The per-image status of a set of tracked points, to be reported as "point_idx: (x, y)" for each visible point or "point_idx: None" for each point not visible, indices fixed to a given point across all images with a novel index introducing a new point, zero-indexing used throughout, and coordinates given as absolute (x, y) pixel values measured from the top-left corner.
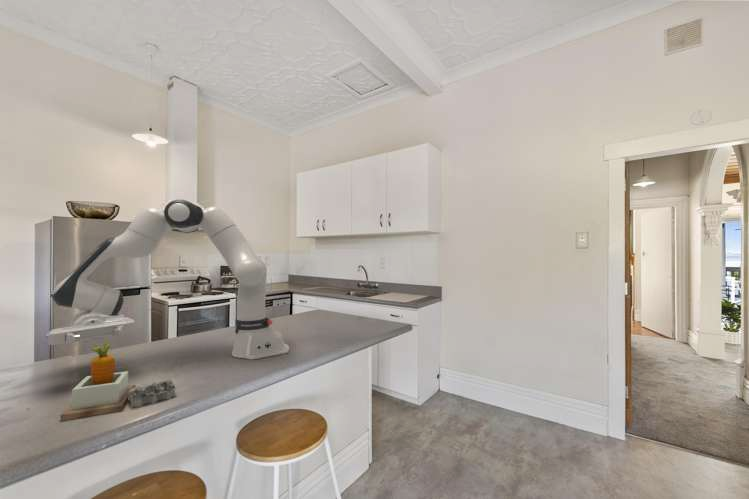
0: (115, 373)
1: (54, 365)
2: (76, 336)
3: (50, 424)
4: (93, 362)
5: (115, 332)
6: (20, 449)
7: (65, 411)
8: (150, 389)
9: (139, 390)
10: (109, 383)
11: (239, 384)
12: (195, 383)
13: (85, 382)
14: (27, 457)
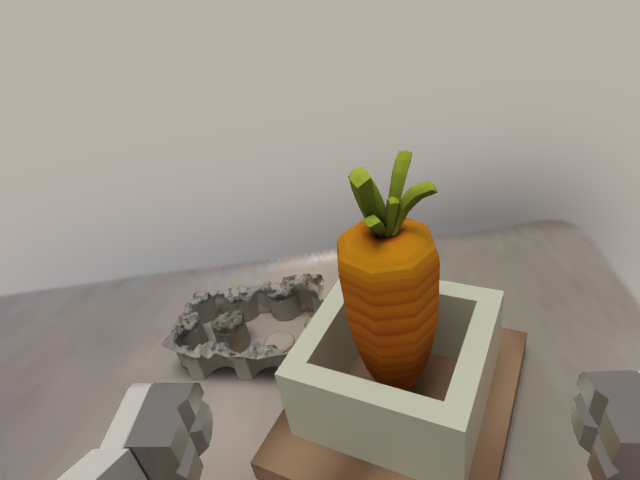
0: (330, 378)
1: None
2: (616, 372)
3: (552, 347)
4: (428, 229)
5: (195, 412)
6: (579, 259)
7: (517, 351)
8: (237, 364)
9: (276, 350)
10: None
11: (51, 290)
12: (90, 376)
13: (462, 347)
14: (547, 227)
